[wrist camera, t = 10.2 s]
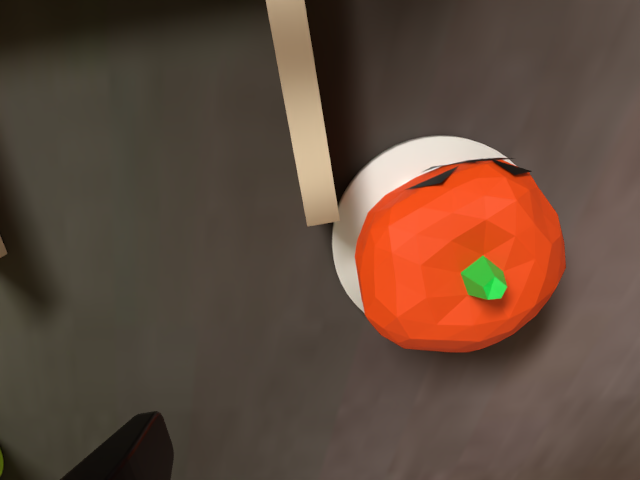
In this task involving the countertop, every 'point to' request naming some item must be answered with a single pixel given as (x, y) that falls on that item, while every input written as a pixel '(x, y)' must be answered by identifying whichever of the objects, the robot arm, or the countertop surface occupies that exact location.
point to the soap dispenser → (1, 462)
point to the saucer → (384, 178)
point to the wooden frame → (300, 110)
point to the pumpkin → (459, 256)
